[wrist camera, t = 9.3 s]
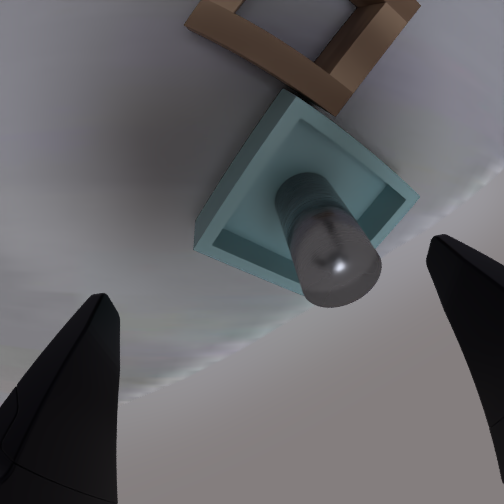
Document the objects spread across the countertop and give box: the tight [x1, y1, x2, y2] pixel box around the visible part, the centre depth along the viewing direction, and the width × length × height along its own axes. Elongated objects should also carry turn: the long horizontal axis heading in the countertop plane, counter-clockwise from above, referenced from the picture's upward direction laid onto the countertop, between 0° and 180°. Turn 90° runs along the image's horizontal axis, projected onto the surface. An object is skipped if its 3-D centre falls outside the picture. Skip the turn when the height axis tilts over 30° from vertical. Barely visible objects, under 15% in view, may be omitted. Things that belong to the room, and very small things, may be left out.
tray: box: [193, 89, 420, 296], centre depth 19 cm, size 10×10×3 cm
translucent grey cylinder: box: [275, 172, 382, 308], centre depth 17 cm, size 4×4×8 cm
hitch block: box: [184, 0, 421, 117], centre depth 12 cm, size 9×9×4 cm
